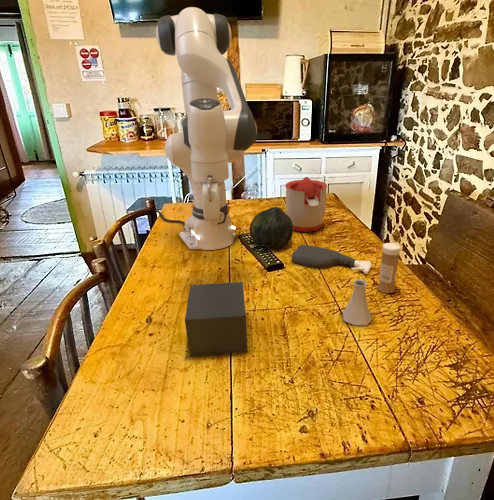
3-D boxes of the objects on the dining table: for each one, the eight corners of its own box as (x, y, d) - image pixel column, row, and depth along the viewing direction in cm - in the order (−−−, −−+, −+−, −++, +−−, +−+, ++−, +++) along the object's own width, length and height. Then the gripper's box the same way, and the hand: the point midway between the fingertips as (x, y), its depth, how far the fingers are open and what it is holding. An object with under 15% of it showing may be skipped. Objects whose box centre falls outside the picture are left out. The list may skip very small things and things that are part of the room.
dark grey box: (193, 318, 99) (190, 284, 95) (244, 314, 100) (242, 281, 96) (189, 356, 85) (184, 319, 81) (247, 352, 87) (245, 315, 83)
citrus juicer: (293, 238, 144) (293, 185, 136) (280, 222, 160) (280, 173, 151) (333, 234, 148) (336, 181, 139) (317, 218, 163) (319, 170, 155)
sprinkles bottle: (398, 290, 109) (404, 246, 104) (386, 295, 107) (392, 250, 102) (385, 283, 113) (390, 240, 107) (374, 288, 111) (379, 244, 105)
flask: (369, 329, 94) (373, 292, 89) (339, 323, 96) (342, 287, 92) (373, 313, 100) (377, 278, 96) (345, 307, 102) (347, 273, 98)
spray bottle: (301, 250, 134) (373, 264, 125) (288, 263, 125) (366, 279, 116) (301, 242, 133) (374, 256, 124) (289, 255, 124) (367, 270, 115)
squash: (246, 222, 145) (250, 200, 131) (285, 220, 148) (294, 199, 134) (250, 257, 139) (256, 238, 126) (291, 254, 142) (301, 236, 129)
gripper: (223, 182, 86) (227, 240, 92) (223, 161, 105) (226, 210, 111) (194, 183, 86) (199, 241, 92) (199, 162, 104) (203, 211, 110)
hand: (214, 224), depth 101 cm, fingers closed
